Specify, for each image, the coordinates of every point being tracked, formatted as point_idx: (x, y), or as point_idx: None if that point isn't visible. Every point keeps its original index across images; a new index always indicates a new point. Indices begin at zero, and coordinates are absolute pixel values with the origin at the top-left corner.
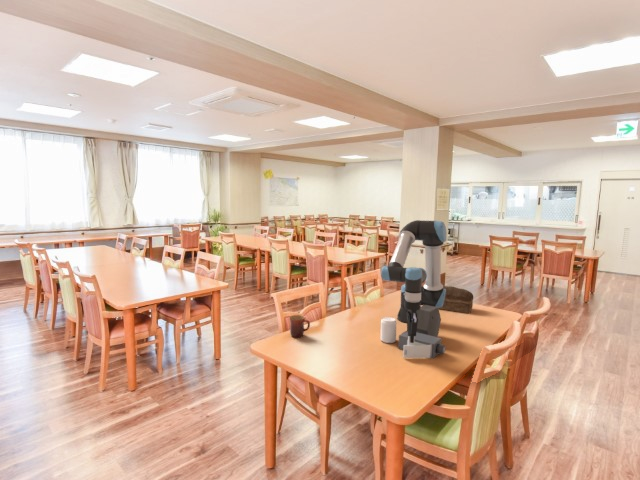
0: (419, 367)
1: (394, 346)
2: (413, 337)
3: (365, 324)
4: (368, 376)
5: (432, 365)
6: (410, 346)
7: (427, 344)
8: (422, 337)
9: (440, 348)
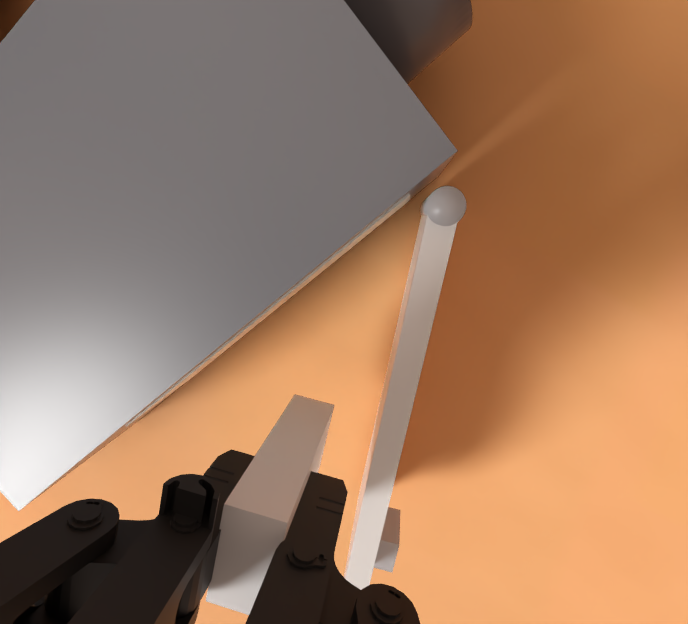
0: (598, 440)
1: None
2: (332, 554)
3: None
4: None
5: (600, 280)
6: (384, 522)
7: (363, 229)
8: (121, 194)
9: (446, 23)
